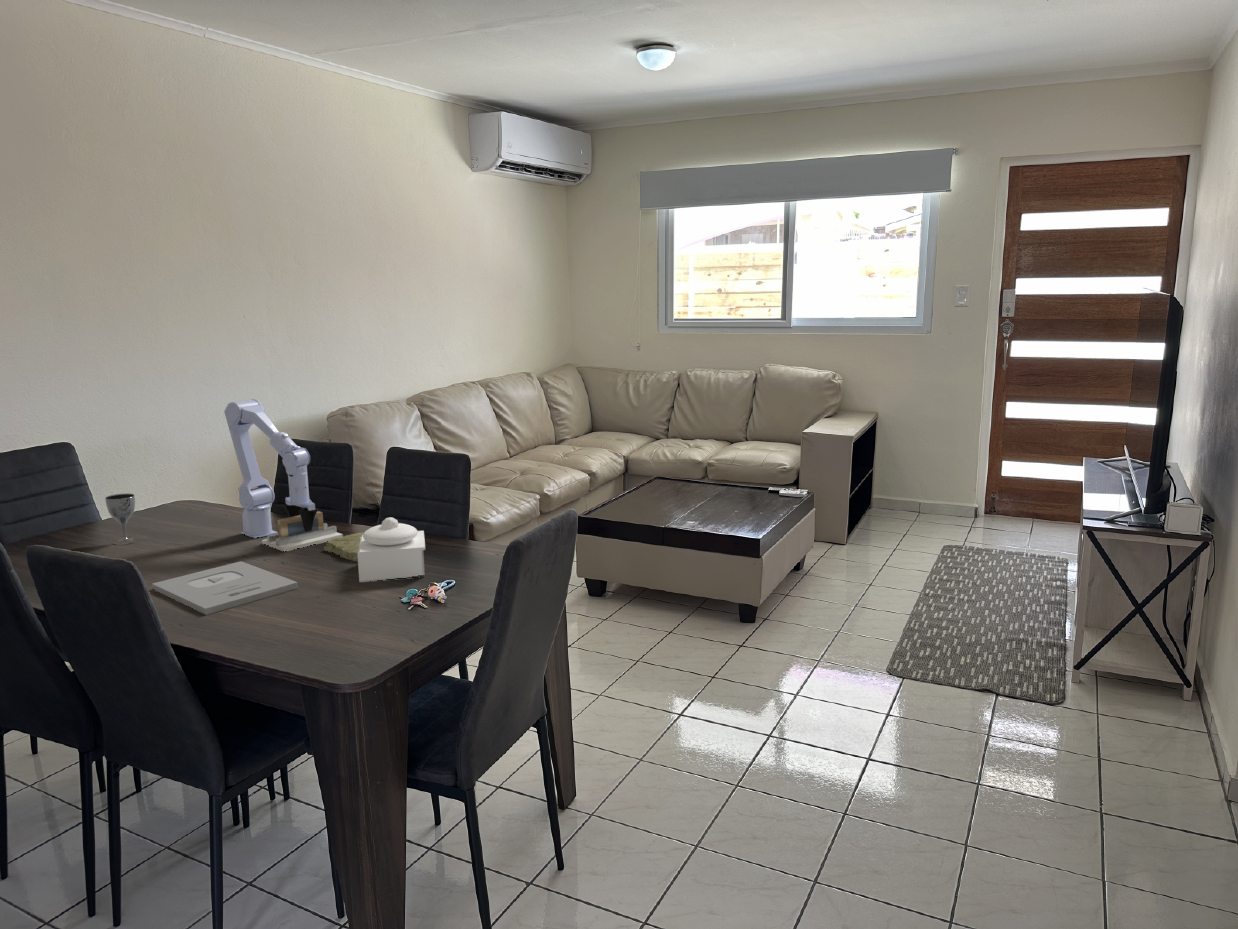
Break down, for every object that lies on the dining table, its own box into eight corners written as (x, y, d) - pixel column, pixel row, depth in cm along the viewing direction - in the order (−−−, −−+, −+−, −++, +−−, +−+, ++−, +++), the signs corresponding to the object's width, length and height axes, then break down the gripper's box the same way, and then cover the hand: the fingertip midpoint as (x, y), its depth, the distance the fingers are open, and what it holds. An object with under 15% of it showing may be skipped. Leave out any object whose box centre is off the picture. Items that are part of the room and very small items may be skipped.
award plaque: (206, 616, 207) (205, 608, 206) (152, 591, 225) (151, 583, 225) (298, 590, 226) (297, 582, 225) (241, 568, 244) (241, 561, 244)
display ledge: (262, 543, 267) (261, 534, 266) (319, 530, 281) (319, 521, 281) (284, 552, 258) (283, 542, 257) (343, 537, 273) (342, 528, 272)
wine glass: (141, 542, 268) (135, 497, 265) (112, 547, 264) (106, 500, 261) (138, 537, 275) (133, 492, 272) (110, 541, 270) (104, 495, 267)
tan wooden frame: (279, 541, 265) (277, 519, 263) (319, 532, 275) (318, 511, 274) (283, 542, 263) (281, 521, 262) (324, 533, 274) (322, 512, 272)
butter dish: (362, 564, 246) (358, 511, 243) (425, 559, 251) (422, 507, 248) (359, 583, 230) (355, 527, 227) (426, 577, 234) (423, 522, 231)
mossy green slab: (370, 539, 273) (369, 528, 272) (410, 550, 261) (409, 539, 260) (319, 553, 258) (318, 541, 258) (358, 565, 246) (358, 553, 246)
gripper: (275, 486, 268) (278, 527, 270) (298, 492, 258) (302, 535, 261) (295, 482, 273) (299, 522, 276) (319, 488, 264) (323, 530, 266)
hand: (302, 528), depth 269 cm, fingers open, 7 cm apart
